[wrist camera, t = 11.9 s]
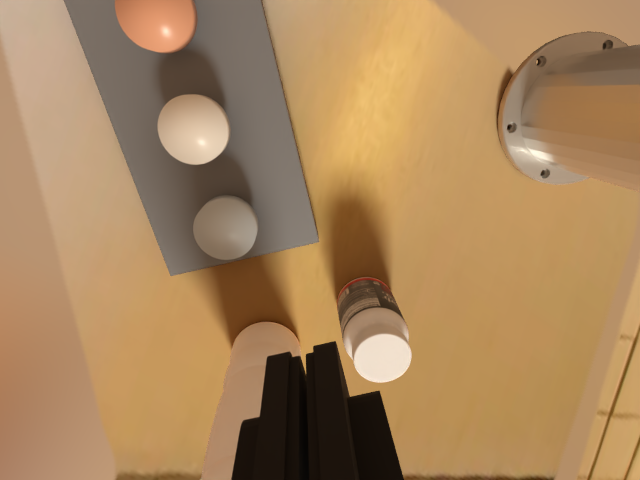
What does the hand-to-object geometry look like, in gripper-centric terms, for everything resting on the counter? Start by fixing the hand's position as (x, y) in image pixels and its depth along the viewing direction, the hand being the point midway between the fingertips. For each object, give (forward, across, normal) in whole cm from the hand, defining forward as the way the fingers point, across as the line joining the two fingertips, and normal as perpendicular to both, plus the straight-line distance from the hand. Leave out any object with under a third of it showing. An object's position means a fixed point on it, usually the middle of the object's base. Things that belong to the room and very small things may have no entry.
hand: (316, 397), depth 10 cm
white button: (+25, +7, -6) cm, 27 cm away
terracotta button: (+25, +7, -14) cm, 30 cm away
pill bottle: (+29, -3, +14) cm, 33 cm away
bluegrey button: (+25, +7, +2) cm, 26 cm away
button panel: (+29, +7, -6) cm, 31 cm away
